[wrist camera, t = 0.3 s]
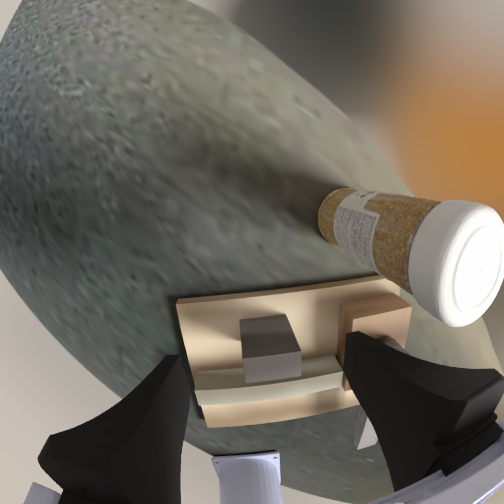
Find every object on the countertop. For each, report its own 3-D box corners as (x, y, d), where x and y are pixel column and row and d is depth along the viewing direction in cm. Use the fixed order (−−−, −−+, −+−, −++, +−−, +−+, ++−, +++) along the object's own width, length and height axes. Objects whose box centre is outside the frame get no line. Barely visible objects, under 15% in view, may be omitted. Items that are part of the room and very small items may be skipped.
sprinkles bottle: (371, 190, 20) (518, 212, 7) (366, 247, 21) (494, 322, 8) (316, 184, 19) (452, 195, 6) (312, 246, 20) (423, 340, 7)
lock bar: (367, 341, 18) (378, 356, 16) (400, 333, 18) (413, 346, 16) (347, 440, 21) (353, 454, 19) (374, 431, 21) (381, 445, 19)
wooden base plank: (375, 392, 25) (399, 428, 19) (208, 420, 24) (205, 466, 18) (395, 272, 21) (437, 298, 16) (178, 298, 20) (161, 340, 15)
